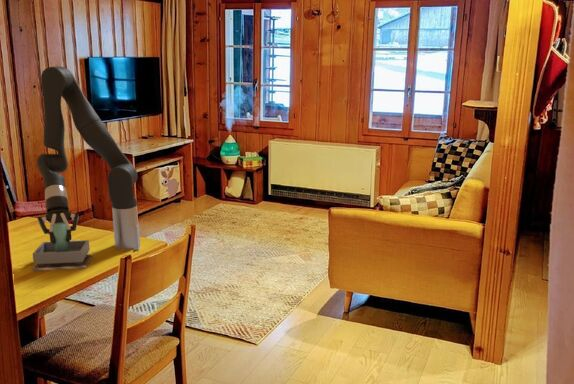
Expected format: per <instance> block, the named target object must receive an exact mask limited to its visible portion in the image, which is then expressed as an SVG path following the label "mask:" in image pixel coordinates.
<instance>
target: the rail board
mask: <svg viewBox="0 0 574 384" xmlns="http://www.w3.org/2000/svg"><path fill="white" fill-rule="evenodd" d="M93 256H94V254H93V253H88V254H87V256H86V257H85V259H84V260H83V262H82V265H81V266H74V263H75V262H70V263H48V264H46V266H45V267H43V268H38V264H35V266H34V267H32V268H31V272H38V271H39V272H41V271H60V270H61V271H63V270H81V269H84V270H85V269H87V268H88V266H89V264H90V263H91V261H92V259H93Z"/></svg>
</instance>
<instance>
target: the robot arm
mask: <svg viewBox="0 0 574 384" xmlns="http://www.w3.org/2000/svg"><path fill="white" fill-rule="evenodd" d="M40 83H41V91H42V102H43V111H44V112H43V115H44V120H43V121H44V122H43V123H44V124H43V125H44V127H43V146H44V147H45V148H48V149H52V150H55V151H56V152H57V153H42V154H39V156H37V159H36V166H37V169H38V171H39V172H40V173H39V174H40V175H41V177H42V180H43V182H44V184H43V185H44V201H45V211H46V213H45V216H42V217H41V216H38V217H37V222H38V224H39V226H40V228H41V231H42V232H43V234H44V235H49V242H51V243H52V242H53V244H55V240H54V233H53V224H54V223H59V222H64V223H66V227H67V241H68V242H70V241H72V239H73V238H72V232H75V231H77V226H78V222H79V217H80V216H79V213H77V212H76V213H71V211H70V208H69V198H68V192H67V188H66V187H67V186H66V182H65V181H66V180H65V179H66V178H65V177H64V175H62V174H61V173H64V172H66V171H67V169H68V167H69V165H68V164H69V163H68V159H67V155H66V154H67V153H66V151H65V149H66V148H65V130H66V127H65V121H64V117H63V113H62V112H63V111H62V99H63V100H64V101H65V103H66V105H68V107H69V110H70V113H71V117H72V121H73V124H74V126H75V128H76V130H77V132H78V133H79V135H80V136H81V137H82V139H83V141H84V142H85V143H86V145H88V146H89V147H90V148H91V149H92V150H94V151H95V152H96V153H97V154H98V155H100V156H101V158H102V159H104V161H105V163H107V166H109V168H110V170H109V172H108V175H107V187H108V188H107V189H108V190H107V191H108V197H109V201H110V203H111V209H112V210H111V211H112V222H113V223H112V226H113V237H114V248H116V249H117V250H122V251H123V250H125V251H127V250H133V252H134V251H139V250H140V247H141V235H140V233H141V232H140V222H139V217H138V214H139V213H138V201H137V198H136V197H135V195H134V188H133V186H134V185H135V184H136V182H137V180H138V178H139V177H138V171H137V169H136V168H135V166H134V165H133V164H132V163H131V161H130V160H129V159H128V157H127V156H126V155H125V154H124V153H123V151H122V150H121V149H120V147H119V146H118V144H117V143H116V141H115V139H114V138H113V136H112V135H111V133H110V131H109V130H108V128H107V127H106V125H105V124H104V122H103V121H102V119H101V118H100V116H99V115H98V113H97V112H96V111H95V109H94V107H93V106H92V104H91V103H90V102H89V101H88V99H87V98H86V97H85V95H84V92H83V90H82V88H81V86H80V85H79V83H78V81H77V80H76V78H75V75H74V74H73V73H72V71H71V70H70V69H68V68H67V67H65V66H48V67H45V68H44V70H42V72H41V75H40ZM70 219H71V220H72V225H71V226H70V224H69V220H70ZM46 222H49V223H50V224H49V228H47V226H46Z"/></svg>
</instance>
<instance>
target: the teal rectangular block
mask: <svg viewBox="0 0 574 384" xmlns="http://www.w3.org/2000/svg"><path fill="white" fill-rule="evenodd" d="M53 233H54V240H55V252H66V251H69V248H68V241H67V227H66V223H64V222H59V223H54V224H53Z"/></svg>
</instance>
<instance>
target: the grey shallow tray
mask: <svg viewBox="0 0 574 384" xmlns="http://www.w3.org/2000/svg"><path fill="white" fill-rule="evenodd" d="M68 248H69V251H66V252H55V244H53V242H52V243H51V242H50V241H42V242H41V243H40V245H39V246H38V247H36V249H35V250H34V251H33V253H32V261H33V265H37V264H38V268H43V267H45V266H46V264H48V263H70V262H75V263H74V266H81V265H82V262H83V260H84V259H85V257H86V256H87V254H89V251H90V250H91V249H90V240H89V239H87V240H86V239H85V240H84V239H83V240H82V239H81V240H70V242H68Z"/></svg>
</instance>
